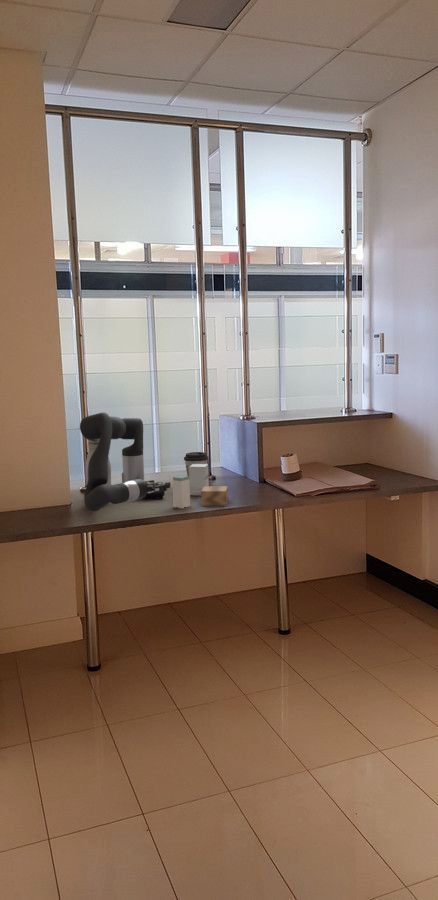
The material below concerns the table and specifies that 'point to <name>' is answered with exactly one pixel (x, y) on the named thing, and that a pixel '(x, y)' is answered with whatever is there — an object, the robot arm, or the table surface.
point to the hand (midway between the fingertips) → (161, 483)
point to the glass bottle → (92, 447)
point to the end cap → (154, 494)
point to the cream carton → (181, 491)
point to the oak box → (214, 495)
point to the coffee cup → (195, 459)
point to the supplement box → (198, 478)
